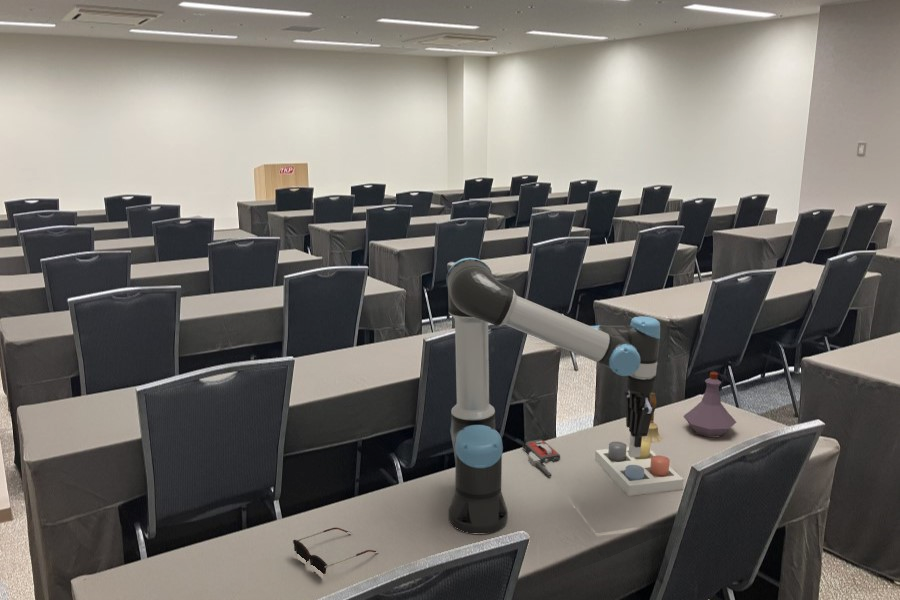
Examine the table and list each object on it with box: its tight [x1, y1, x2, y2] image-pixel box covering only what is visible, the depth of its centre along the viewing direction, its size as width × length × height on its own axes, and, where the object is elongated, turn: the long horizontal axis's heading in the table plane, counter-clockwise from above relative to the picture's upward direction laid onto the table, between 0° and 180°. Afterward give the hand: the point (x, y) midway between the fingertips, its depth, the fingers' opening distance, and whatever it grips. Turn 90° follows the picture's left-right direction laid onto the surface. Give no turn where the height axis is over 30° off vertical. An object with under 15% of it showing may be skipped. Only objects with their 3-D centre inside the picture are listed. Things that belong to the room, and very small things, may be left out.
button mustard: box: [635, 439, 651, 459], centre depth 220 cm, size 5×5×4 cm
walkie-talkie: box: [522, 439, 561, 477], centre depth 224 cm, size 9×4×20 cm
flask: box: [683, 371, 737, 437], centre depth 243 cm, size 16×16×20 cm
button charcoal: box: [608, 441, 628, 462], centre depth 218 cm, size 5×5×4 cm
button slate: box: [625, 465, 644, 481], centre depth 208 cm, size 5×5×4 cm
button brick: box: [650, 454, 671, 477], centre depth 210 cm, size 5×5×4 cm
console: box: [594, 446, 684, 497], centre depth 215 cm, size 16×22×4 cm
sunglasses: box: [292, 527, 377, 575], centre depth 178 cm, size 14×16×5 cm
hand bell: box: [642, 392, 662, 444], centre depth 237 cm, size 8×8×16 cm
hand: (634, 455), depth 207 cm, fingers closed
